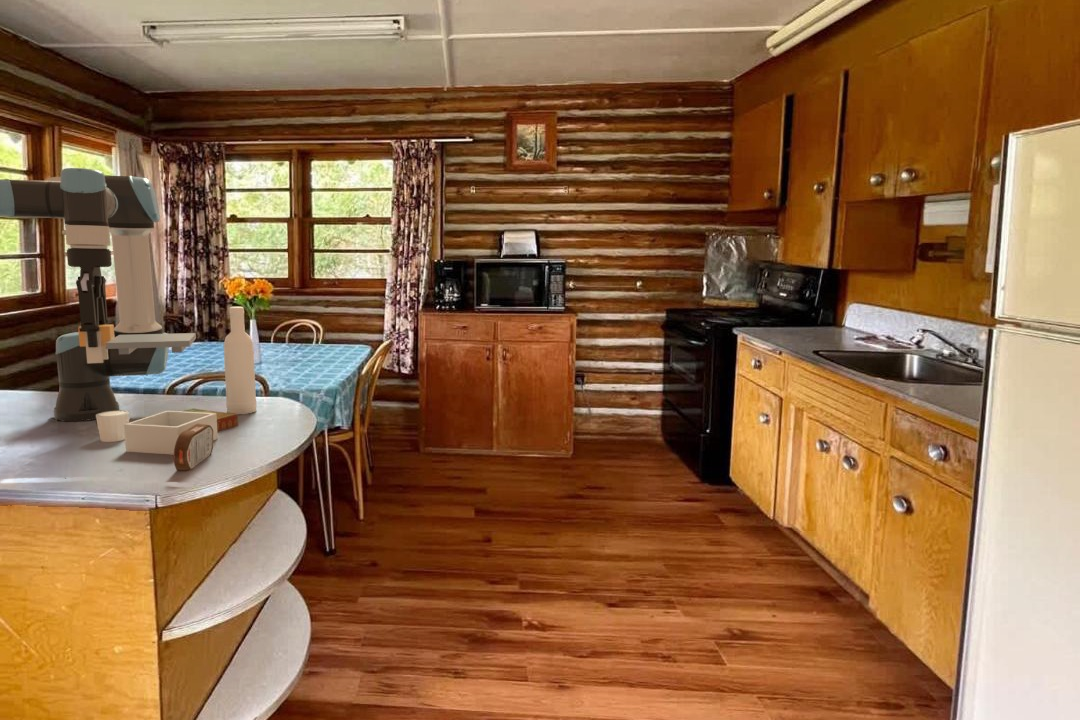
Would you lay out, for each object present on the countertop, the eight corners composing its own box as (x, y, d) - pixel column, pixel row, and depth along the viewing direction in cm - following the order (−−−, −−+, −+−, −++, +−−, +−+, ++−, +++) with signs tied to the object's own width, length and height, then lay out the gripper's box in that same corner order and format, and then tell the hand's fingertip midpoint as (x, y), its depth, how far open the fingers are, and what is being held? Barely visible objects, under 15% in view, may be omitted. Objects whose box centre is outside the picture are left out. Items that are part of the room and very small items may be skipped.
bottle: (233, 408, 200) (228, 305, 196) (260, 408, 200) (256, 306, 196) (222, 414, 192) (216, 307, 188) (250, 415, 193) (245, 308, 188)
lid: (90, 347, 148) (88, 322, 147) (196, 344, 155) (195, 320, 155) (74, 357, 135) (71, 329, 134) (190, 353, 143) (188, 327, 142)
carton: (212, 437, 171) (211, 420, 170) (166, 430, 177) (165, 413, 176) (238, 429, 178) (237, 413, 177) (194, 422, 184) (193, 407, 184)
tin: (202, 455, 154) (200, 419, 153) (217, 455, 154) (215, 419, 153) (173, 477, 139) (170, 436, 138) (189, 477, 139) (186, 436, 138)
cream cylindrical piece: (100, 439, 166) (98, 411, 164) (133, 436, 168) (131, 409, 167) (95, 446, 159) (92, 417, 158) (129, 444, 162) (127, 415, 161)
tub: (126, 454, 153) (124, 424, 152) (168, 438, 167) (167, 410, 166) (179, 458, 151) (177, 427, 150) (217, 441, 165) (216, 413, 164)
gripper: (77, 247, 146) (87, 355, 149) (54, 246, 130) (65, 368, 134) (118, 247, 148) (126, 354, 152) (100, 247, 133) (110, 366, 136)
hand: (98, 360), depth 143 cm, fingers closed on lid, 4 cm apart
